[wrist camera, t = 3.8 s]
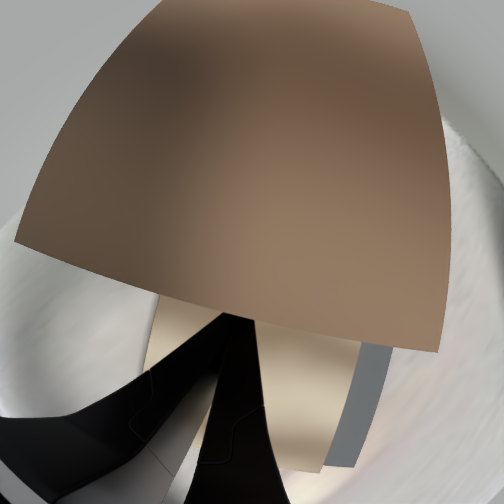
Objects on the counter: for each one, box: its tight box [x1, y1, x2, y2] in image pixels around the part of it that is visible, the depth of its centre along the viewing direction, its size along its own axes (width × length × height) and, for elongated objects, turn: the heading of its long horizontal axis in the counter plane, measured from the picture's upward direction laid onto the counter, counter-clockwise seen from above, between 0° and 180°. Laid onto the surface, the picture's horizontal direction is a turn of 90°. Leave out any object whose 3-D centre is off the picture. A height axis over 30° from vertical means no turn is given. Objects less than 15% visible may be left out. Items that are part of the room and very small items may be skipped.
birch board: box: [143, 294, 362, 473], centre depth 16 cm, size 16×12×2 cm
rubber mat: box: [323, 342, 393, 468], centre depth 18 cm, size 26×15×1 cm, turn 166°
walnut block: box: [14, 0, 451, 353], centre depth 10 cm, size 7×6×13 cm
